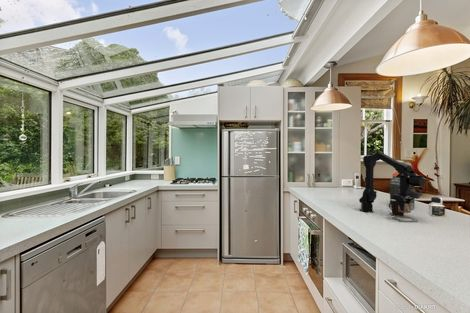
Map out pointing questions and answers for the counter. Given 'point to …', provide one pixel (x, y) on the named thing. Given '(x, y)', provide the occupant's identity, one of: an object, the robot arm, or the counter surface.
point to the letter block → (405, 208)
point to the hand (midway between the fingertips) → (404, 210)
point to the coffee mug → (395, 208)
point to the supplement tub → (395, 190)
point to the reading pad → (404, 219)
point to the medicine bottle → (437, 207)
